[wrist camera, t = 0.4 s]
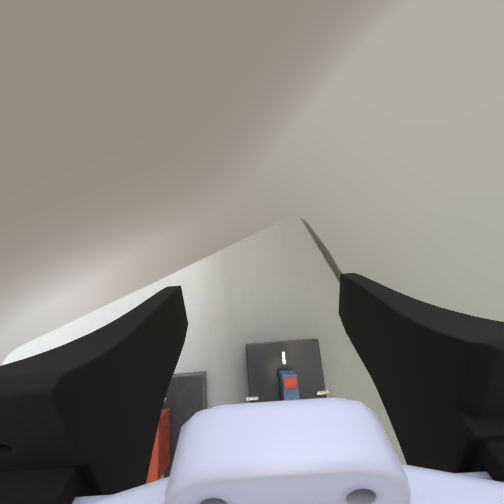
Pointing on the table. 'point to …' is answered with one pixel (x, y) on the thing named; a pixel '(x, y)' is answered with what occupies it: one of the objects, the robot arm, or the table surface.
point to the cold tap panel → (284, 358)
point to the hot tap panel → (183, 405)
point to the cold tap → (288, 385)
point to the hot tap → (160, 448)
